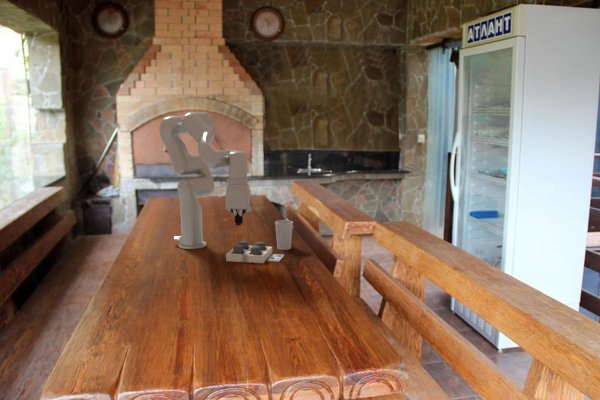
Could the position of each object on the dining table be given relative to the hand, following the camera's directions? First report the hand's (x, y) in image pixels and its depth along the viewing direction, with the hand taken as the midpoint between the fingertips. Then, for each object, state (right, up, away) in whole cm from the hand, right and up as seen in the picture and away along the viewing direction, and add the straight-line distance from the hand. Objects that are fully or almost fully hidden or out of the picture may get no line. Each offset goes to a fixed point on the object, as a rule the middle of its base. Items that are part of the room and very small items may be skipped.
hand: (238, 224), depth 239 cm
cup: (+18, -12, +20) cm, 30 cm away
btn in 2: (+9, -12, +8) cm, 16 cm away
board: (+4, -14, +5) cm, 16 cm away
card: (+15, -15, +3) cm, 21 cm away
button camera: (+7, -13, +1) cm, 15 cm away
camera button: (0, -13, +2) cm, 13 cm away
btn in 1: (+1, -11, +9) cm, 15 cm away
